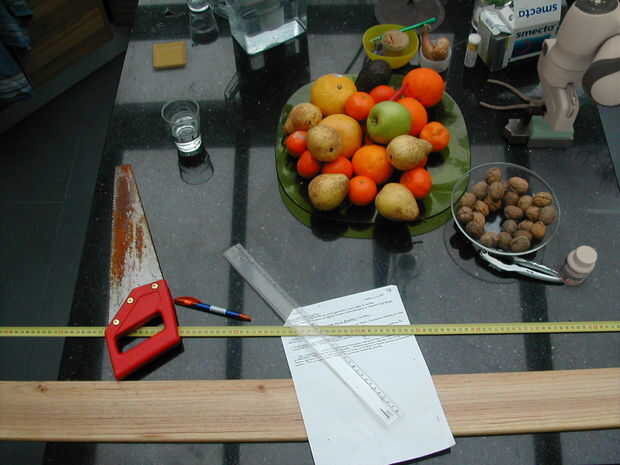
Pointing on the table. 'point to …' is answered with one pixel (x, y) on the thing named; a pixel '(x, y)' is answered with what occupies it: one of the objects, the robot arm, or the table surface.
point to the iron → (535, 130)
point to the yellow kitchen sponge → (169, 54)
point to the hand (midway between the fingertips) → (544, 113)
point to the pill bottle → (577, 265)
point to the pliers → (521, 106)
